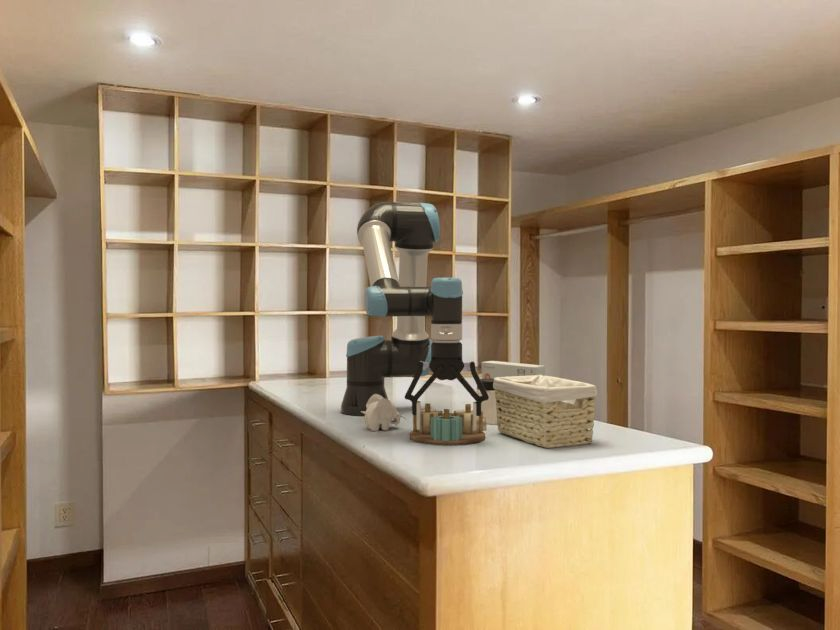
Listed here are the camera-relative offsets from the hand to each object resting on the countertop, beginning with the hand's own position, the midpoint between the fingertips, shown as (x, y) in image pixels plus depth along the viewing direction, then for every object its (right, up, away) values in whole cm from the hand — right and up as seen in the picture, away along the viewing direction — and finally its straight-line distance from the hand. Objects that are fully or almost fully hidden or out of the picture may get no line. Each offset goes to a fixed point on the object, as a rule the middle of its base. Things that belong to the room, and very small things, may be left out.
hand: (446, 429), depth 168 cm
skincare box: (+21, -3, +39) cm, 45 cm away
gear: (0, -2, 0) cm, 2 cm away
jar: (+14, -3, +29) cm, 32 cm away
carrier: (0, -3, +6) cm, 7 cm away
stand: (+9, -3, +18) cm, 20 cm away
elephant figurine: (-16, -3, +18) cm, 25 cm away
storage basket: (+24, -4, +5) cm, 25 cm away
